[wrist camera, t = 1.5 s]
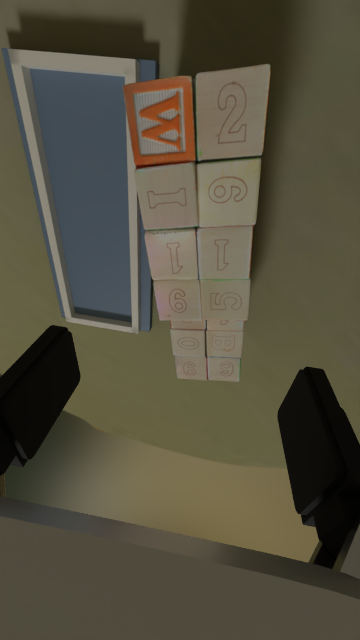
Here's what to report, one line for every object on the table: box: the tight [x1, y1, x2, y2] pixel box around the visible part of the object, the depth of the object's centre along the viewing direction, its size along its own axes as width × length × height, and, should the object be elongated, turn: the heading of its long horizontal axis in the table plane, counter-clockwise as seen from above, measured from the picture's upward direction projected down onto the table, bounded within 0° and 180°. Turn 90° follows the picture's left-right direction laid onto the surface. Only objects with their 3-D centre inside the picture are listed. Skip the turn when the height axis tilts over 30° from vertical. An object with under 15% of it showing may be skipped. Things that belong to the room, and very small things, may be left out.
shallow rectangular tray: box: [2, 48, 159, 334], centre depth 26 cm, size 12×25×2 cm, turn 175°
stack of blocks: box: [122, 64, 271, 382], centre depth 21 cm, size 21×6×12 cm, turn 5°
